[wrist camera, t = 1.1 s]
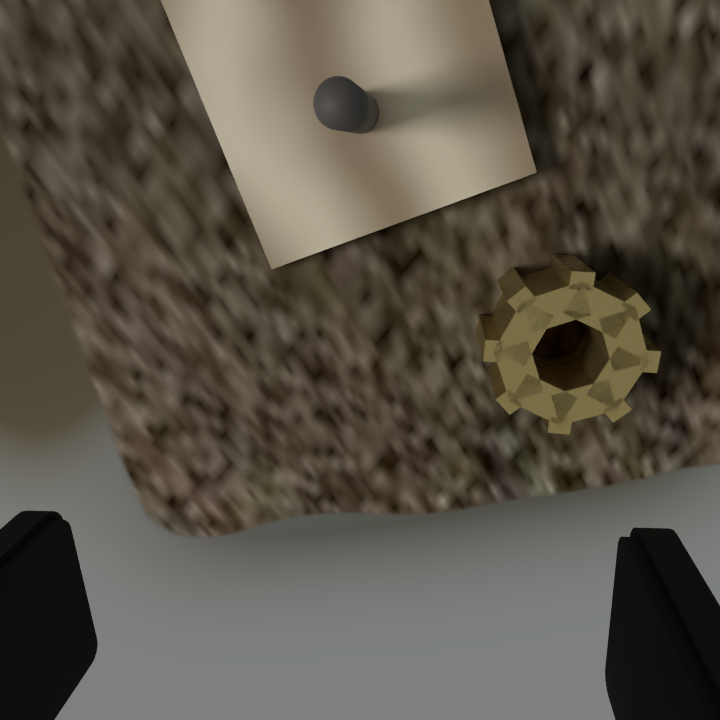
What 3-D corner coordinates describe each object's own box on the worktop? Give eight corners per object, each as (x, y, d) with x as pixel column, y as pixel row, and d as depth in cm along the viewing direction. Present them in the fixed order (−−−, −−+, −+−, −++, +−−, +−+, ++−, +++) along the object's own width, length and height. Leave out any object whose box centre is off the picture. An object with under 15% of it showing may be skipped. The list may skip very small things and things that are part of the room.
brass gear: (608, 235, 27) (636, 249, 23) (643, 372, 29) (674, 406, 25) (461, 284, 28) (465, 305, 25) (502, 412, 30) (512, 449, 26)
